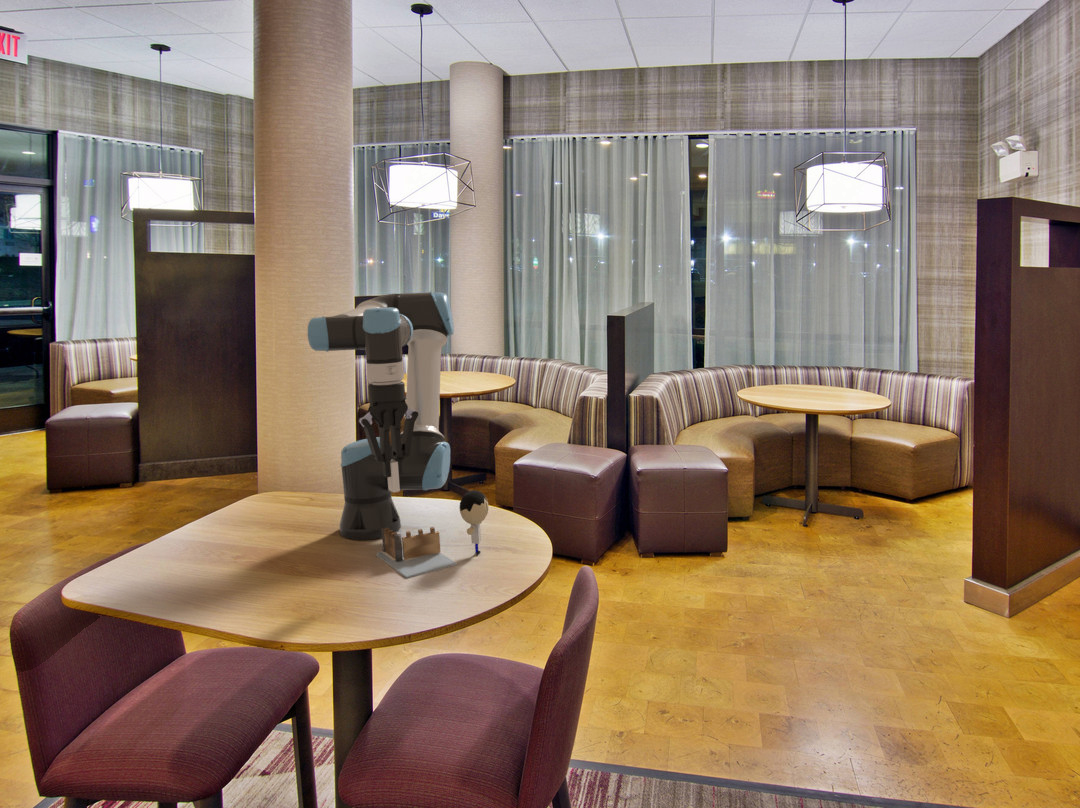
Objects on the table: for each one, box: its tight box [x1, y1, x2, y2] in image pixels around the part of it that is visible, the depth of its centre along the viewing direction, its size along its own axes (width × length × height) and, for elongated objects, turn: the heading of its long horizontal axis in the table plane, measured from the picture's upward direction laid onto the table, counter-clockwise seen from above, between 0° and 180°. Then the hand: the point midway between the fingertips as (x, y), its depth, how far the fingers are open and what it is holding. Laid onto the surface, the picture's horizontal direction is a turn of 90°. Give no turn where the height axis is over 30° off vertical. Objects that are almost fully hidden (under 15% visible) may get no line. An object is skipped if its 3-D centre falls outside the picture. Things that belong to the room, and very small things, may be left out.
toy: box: [459, 490, 489, 555], centre depth 175 cm, size 9×7×15 cm
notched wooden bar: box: [401, 526, 441, 559], centre depth 175 cm, size 8×1×6 cm, turn 113°
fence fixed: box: [381, 527, 403, 562], centre depth 176 cm, size 9×2×6 cm, turn 34°
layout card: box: [376, 546, 457, 579], centre depth 174 cm, size 17×12×1 cm
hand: (394, 490), depth 165 cm, fingers closed
